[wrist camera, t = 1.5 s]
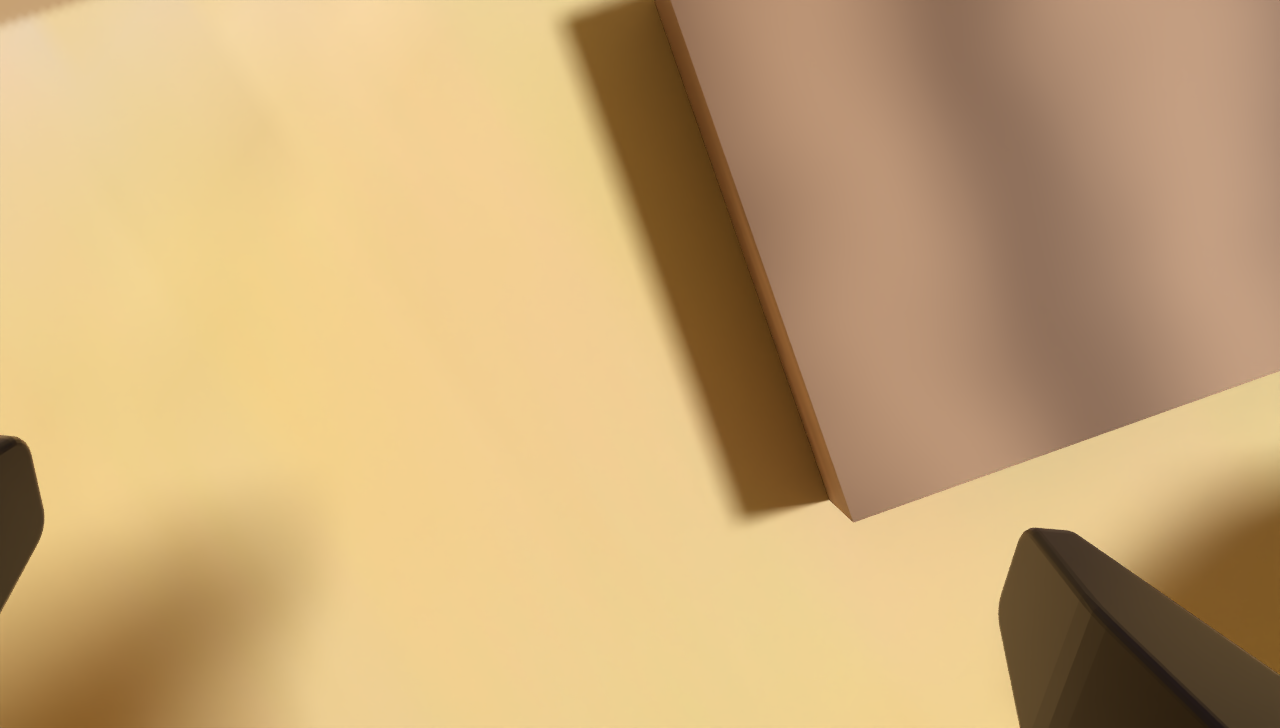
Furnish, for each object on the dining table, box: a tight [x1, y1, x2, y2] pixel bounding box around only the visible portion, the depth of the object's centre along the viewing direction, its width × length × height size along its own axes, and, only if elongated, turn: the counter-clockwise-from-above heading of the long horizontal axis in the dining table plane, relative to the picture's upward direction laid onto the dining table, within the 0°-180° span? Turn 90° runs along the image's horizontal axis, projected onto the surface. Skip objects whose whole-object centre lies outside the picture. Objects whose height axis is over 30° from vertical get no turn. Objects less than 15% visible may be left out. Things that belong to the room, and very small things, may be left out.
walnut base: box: [654, 0, 1280, 522], centre depth 22 cm, size 12×12×2 cm
